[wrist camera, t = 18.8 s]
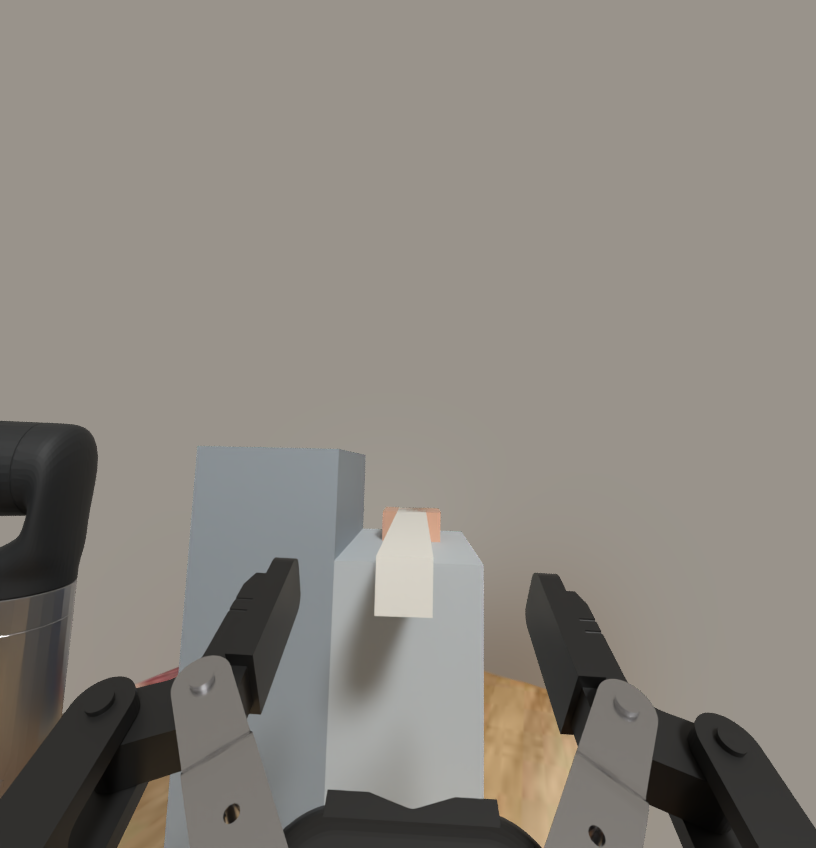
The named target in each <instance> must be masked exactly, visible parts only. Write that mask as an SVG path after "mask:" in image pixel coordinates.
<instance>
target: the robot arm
mask: <svg viewBox="0 0 816 848" xmlns="http://www.w3.org/2000/svg"><path fill="white" fill-rule="evenodd" d="M97 461H98V454H97V446H96V443H95V440H94V438H93V436H92V434H91V433H90V432H89V431H88V430H87V429H85V428H84V427H81V426H78V425H72V424H58V423H37V422H36V423H35V422H13V421H0V516H25V515H26V518H25V521H24V525H23V528H22V531H21V533H20V535H19V536H18V537H17V538H16V539H15V540H13V541H12V542H10V543H8V544H6V545H4V546H2V547H0V848H117V846H118V844H119V842H120V840H121V838H122V836H123V834H124V832H125V830H126V828H127V826H128V824H129V822H130V820H131V817H132V815H133V813H134V811H135V809H136V807H137V805H138V803H139V801H140V799H141V797H142V795H143V793H144V790H145V788H146V786H147V784H148V782H149V781H152V780H155V779H158V778H161V777H164V776H167V775H171V774H174V773H177V772H180V771H181V772H182V773H181V774H180V777H181V787H182V794H183V802H184V809H185V816H186V823H187V831H188V838H189V845H190V848H541V847H540V845H539V844H538V843H537V842H536V841H535V840H534V839H533V838H532V837H531V836H530V835H529V834H527V833H526V832H525V831H524V830H522V829H521V828H520V827H518V826H517V825H516V824H514V823H512V822H510V821H509V820H507V819H505V818H503V817H500V816H499V811H498V804H497V800H494V799H478V798H461V797H454V798H450V799H447V800H444V801H440V802H437V803H433V804H430V805H426V806H423V807H419V808H415V809H410V808H407V807H404V806H402V805H400V804H397V803H395V802H392V801H390V800H388V799H385V798H383V797H380V796H378V795H375V794H373V793H371V792H362V791H346V790H329V789H328V790H327V796H326V802H325V805H323V806H320V807H317V808H314V809H312V810H310V811H308V812H306V813H304V814H303V815H301V816H299V817H298V818H296V819H295V820H294V821H292V822H291V823H290V824H289V825H287V826H286V827H285V828H284V829H282V825H281V822H280V819H279V816H278V812H277V809H276V806H275V802H274V799H273V796H272V793H271V789H270V786H269V783H268V780H267V776H266V773H265V770H264V766H263V763H262V760H261V757H260V753H259V750H258V747H257V743H256V740H255V737H254V735H253V732H252V731H250V728H249V725H248V722H247V718H248V715H249V714H258V715H261V713H262V711H263V708H264V705H265V702H266V699H267V697H268V694H269V691H270V688H271V686H272V683H273V680H274V677H275V674H276V672H277V669H278V666H279V663H280V660H281V658H282V655H283V652H284V649H285V646H286V644H287V641H288V638H289V635H290V632H291V630H292V627H293V624H294V621H295V619H296V616H297V613H298V609H299V605H300V597H301V591H300V576H299V563H298V559H296V558H279V557H275V558H274V559H273V561H272V562H271V564H270V566H269V568H268V570H267V572H266V573H255V574H254V575H253V576H252V577H251V578H250V579H249V580H247V581H246V582H245V583H244V584H243V586H242V588H241V589H240V591H239V593H238V595H237V596H236V600H234V602H233V603H232V605H231V607H230V610H229V611H228V612H227V614H226V616H225V618H224V619H223V621H222V623H221V625H220V626H219V628H218V630H217V632H216V633H215V635H214V637H213V639H212V641H211V642H210V644H209V646H208V648H207V649H206V651H205V653H204V654H203V656H202V657H201V658H200V659H197V660H195V661H194V662H192V663H190V664H189V665H187V666H186V667H185V668H184V669H183V670H182V671H181V672H180V673H179V674H178V676H177V677H176V678H173V679H171V680H168V681H164V682H160V683H156V684H152V685H148V686H144V687H140V688H136V687H135V684H134V683H133V681H132V680H131V679H129V678H126V677H112V678H108V679H105V680H103V681H100V682H98V683H96V684H94V685H93V686H91V687H90V688H88V689H87V690H85V691H84V692H83V693H82V694H80V695H79V696H78V697H77V698H76V699H75V700H74V702H73V703H72V704H71V705H70V706H69V708H68V709H67V710H66V712H65V713H64V714H63V716H62V709H63V700H64V690H65V682H66V673H67V665H68V655H69V647H70V638H71V629H72V621H73V612H74V601H75V593H76V583H77V575H78V566H79V562H80V558H81V555H82V552H83V548H84V544H85V539H86V533H87V525H88V519H89V512H90V507H91V501H92V496H93V491H94V486H95V480H96V473H97ZM526 623H527V628H528V631H529V634H530V637H531V641H532V644H533V647H534V650H535V654H536V657H537V660H538V663H539V666H540V670H541V673H542V676H543V679H544V683H545V686H546V689H547V692H548V695H549V699H550V702H551V705H552V708H553V712H554V715H555V718H556V721H557V725H558V728H559V731H560V734H569V735H574V736H575V739H576V742H577V745H578V748H577V751H576V754H575V757H574V760H573V763H572V766H571V769H570V772H569V775H568V778H567V781H566V784H565V787H564V790H563V793H562V796H561V799H560V802H559V805H558V808H557V811H556V814H555V817H554V820H553V823H552V826H551V829H550V832H549V835H548V838H547V840H546V843H545V846H544V848H643V845H644V838H645V831H646V826H647V819H648V812H649V805H651V806H654V807H656V808H658V809H661V810H663V811H665V812H667V813H669V815H670V818H671V820H672V823H673V825H674V827H675V830H676V832H677V834H678V837H679V839H680V842H681V844H682V846H683V848H816V829H815V827H814V826H813V824H812V823H811V821H810V820H809V818H808V817H807V815H806V814H805V812H804V811H803V809H802V808H801V806H800V805H799V803H798V802H797V801H796V799H795V798H794V796H793V795H792V793H791V792H790V790H789V789H788V787H787V786H786V784H785V783H784V781H783V780H782V778H781V777H780V775H779V774H778V773H777V771H776V769H775V768H774V767H773V765H772V763H771V762H770V760H769V759H768V758H767V756H766V755H765V753H764V752H763V750H762V749H761V747H760V746H759V745H758V743H757V742H756V741H755V740H754V738H753V737H752V736H751V735H750V734H749V733H748V732H746V731H745V730H744V729H743V728H742V727H740V726H739V725H738V724H736V723H735V722H733V721H731V720H730V719H728V718H726V717H723V716H721V715H718V714H714V713H703V714H701V715H699V716H698V717H697V718H696V720H695V722H694V723H692V722H690V721H687V720H685V719H682V718H679V717H676V716H673V715H670V714H668V713H665V712H663V711H661V710H658V709H657V708H655V707H653V705H652V703H651V702H650V700H649V699H648V698H647V697H646V696H645V695H644V694H643V693H642V692H641V691H640V690H639V689H637V688H636V687H634V686H633V685H631V684H629V683H628V682H627V680H626V679H625V677H624V675H623V673H622V671H621V669H620V667H619V665H618V663H617V661H616V659H615V657H614V655H613V653H612V651H611V649H610V648H609V646H608V644H607V642H606V640H605V638H604V636H603V635H602V634H601V630H600V628H599V626H598V624H597V623H596V622H595V618H594V616H593V614H592V613H591V611H590V609H589V607H588V605H587V604H586V603H585V602H584V601H583V600H582V599H581V598H580V597H579V596H578V594H577V593H576V592H573V591H566V590H565V587H564V585H563V583H562V581H561V579H560V577H559V576H558V575H557V574H545V573H534V574H533V576H532V580H531V585H530V590H529V594H528V599H527V604H526ZM61 716H62V717H61Z"/></svg>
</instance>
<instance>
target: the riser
mask: <svg viewBox="0 0 816 848" xmlns="http://www.w3.org/2000/svg"><path fill="white" fill-rule="evenodd" d="M364 481H365V455H363V454H359V453H354V452H349V451H345V450H341V449H311V448H264V447H263V448H262V447H215V446H198V447H197V459H196V470H195V482H194V494H193V506H192V519H191V530H190V542H189V554H188V567H187V578H186V590H185V602H184V615H183V626H182V638H181V650H180V662H179V673H180V672H181V671H182V670H183V669H184V668H185V667H186V666H187V665H189V664H190V663H192V662H194V661H195V660H197V659H200V658H201V657H202V656H203V654H204V653H205V651H206V649H207V648H208V646H209V644H210V642H211V641H212V639H213V637H214V635H215V633H216V632H217V630H218V628H219V626H220V625H221V623H222V621H223V619H224V618H225V616H226V614H227V612H228V611H229V610H230V607H231V605H232V603H233V602H234V600H236V596H237V595H238V593H239V591H240V589H241V588H242V586H243V584H244V583H245V582H246V581H247V580H249V579H250V578H251V577H252V576H253V575H254V574H255V573H266V572H267V570H268V568H269V566H270V564H271V562H272V561H273V559H274V558H275V557H279V558H296V559H298V563H299V576H300V591H301V597H300V605H299V609H298V613H297V616H296V619H295V621H294V624H293V627H292V630H291V632H290V635H289V638H288V641H287V644H286V646H285V649H284V652H283V655H282V658H281V660H280V663H279V666H278V669H277V672H276V674H275V677H274V680H273V683H272V686H271V688H270V691H269V694H268V697H267V699H266V702H265V705H264V708H263V711H262V713H261V715H258V714H249V715H248V718H247V722H248V725H249V728H250V731H252V732H253V735H254V737H255V740H256V743H257V747H258V750H259V753H260V757H261V760H262V763H263V766H264V770H265V773H266V776H267V780H268V783H269V786H270V789H271V793H272V796H273V799H274V802H275V806H276V809H277V812H278V816H279V819H280V822H281V825H282V829H284V828H285V827H286V826H287V825H289V824H290V823H291V822H292V821H294V820H295V819H296V818H298V817H299V816H301V815H303V814H304V813H306V812H308V811H310V810H312V809H314V808H317V807H320V806H323V805H325V802H326V796H327V790H328V789H329V790H346V791H362V792H371V793H373V794H375V795H378V796H380V797H383V798H385V799H388V800H390V801H392V802H395V803H397V804H400V805H402V806H404V807H407V808H410V809H415V808H419V807H423V806H426V805H430V804H433V803H437V802H440V801H444V800H447V799H450V798H454V797H461V798H478V799H484V565H483V563H482V562H481V560H480V559H479V557H478V556H477V554H476V553H475V551H474V550H473V548H472V547H471V546H470V544H469V542H468V541H467V539H466V538H465V536H464V535H463V533H462V532H461V531H440V542H431V545H432V551H433V557H434V560H433V618H418V617H389V616H374V610H375V577H376V555H377V553H378V551H379V549H380V547H381V545H382V543H383V541H382V529H363V512H364ZM181 773H182V772H181V771H180V772H177V773H174V774H171V775H170V783H169V795H168V807H167V819H166V831H165V843H164V848H190V845H189V838H188V831H187V823H186V816H185V809H184V802H183V794H182V787H181V777H180V774H181Z"/></svg>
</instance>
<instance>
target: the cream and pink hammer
mask: <svg viewBox="0 0 816 848" xmlns="http://www.w3.org/2000/svg"><path fill="white" fill-rule="evenodd" d="M440 514H441V512H440V511H439V509H438V508H404V507H402V508H401V507H386V508H385V509H384V511H383V529H382V541H383V543H382V545H381V547H380V549H379V551H378V553H377V555H376V577H375V610H374V616H389V617H418V618H433V560H434V557H433V551H432V545H431V542H440Z"/></svg>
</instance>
